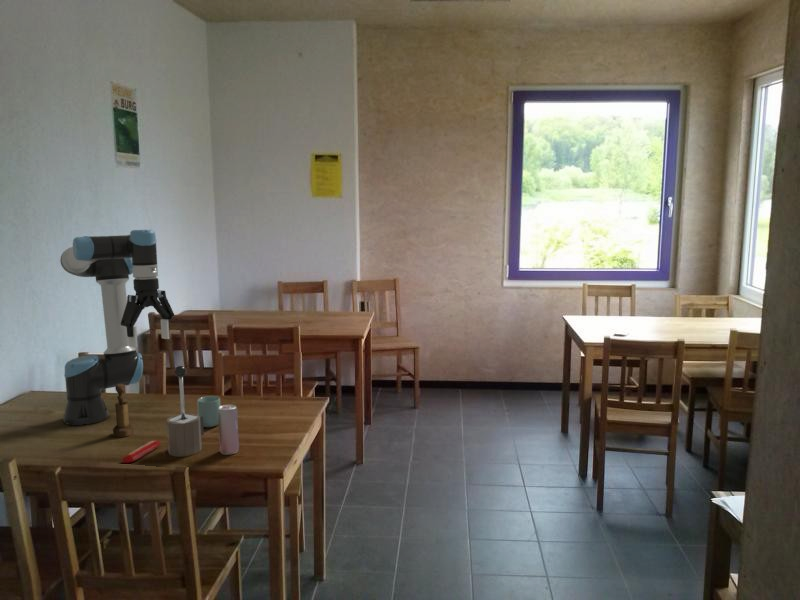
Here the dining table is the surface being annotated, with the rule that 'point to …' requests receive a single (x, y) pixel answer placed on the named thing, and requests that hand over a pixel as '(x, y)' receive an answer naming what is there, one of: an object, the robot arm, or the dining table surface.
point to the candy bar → (140, 451)
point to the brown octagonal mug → (184, 434)
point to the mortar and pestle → (122, 415)
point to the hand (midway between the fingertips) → (150, 342)
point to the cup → (209, 410)
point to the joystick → (181, 388)
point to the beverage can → (228, 429)
